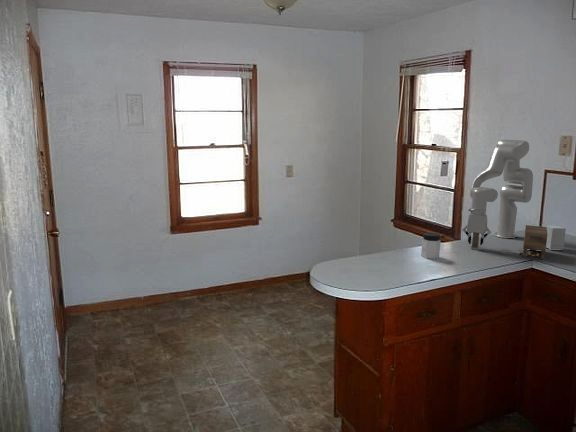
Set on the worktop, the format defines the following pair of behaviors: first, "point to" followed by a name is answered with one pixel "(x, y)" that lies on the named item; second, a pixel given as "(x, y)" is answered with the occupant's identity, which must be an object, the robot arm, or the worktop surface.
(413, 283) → the worktop surface
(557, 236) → the supplement box
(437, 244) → the jar
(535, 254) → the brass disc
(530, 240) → the cabinet
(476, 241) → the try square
